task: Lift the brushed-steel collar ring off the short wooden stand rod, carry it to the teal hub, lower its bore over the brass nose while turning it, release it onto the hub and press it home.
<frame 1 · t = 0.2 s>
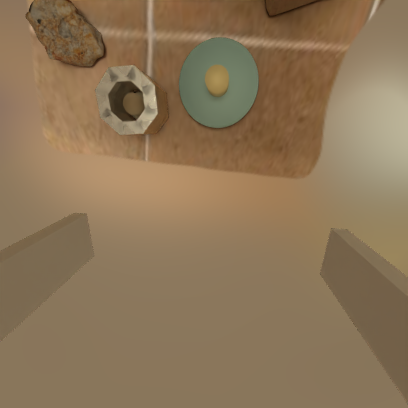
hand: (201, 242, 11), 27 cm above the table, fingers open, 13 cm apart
hub: (218, 88, 33), on the table
collar ring: (142, 107, 35), on the table
rock: (75, 37, 33), on the table
stand: (142, 107, 35), on the table
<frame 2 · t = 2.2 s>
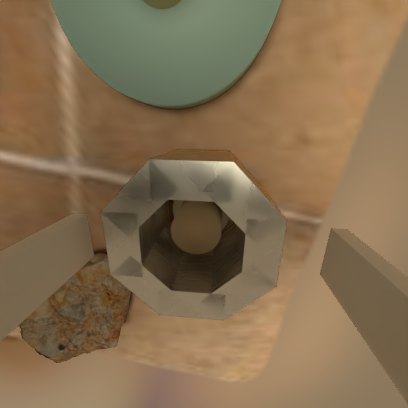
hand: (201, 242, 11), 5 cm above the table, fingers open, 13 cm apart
collar ring: (202, 208, 16), on the table
rock: (92, 290, 20), on the table
stand: (202, 208, 16), on the table
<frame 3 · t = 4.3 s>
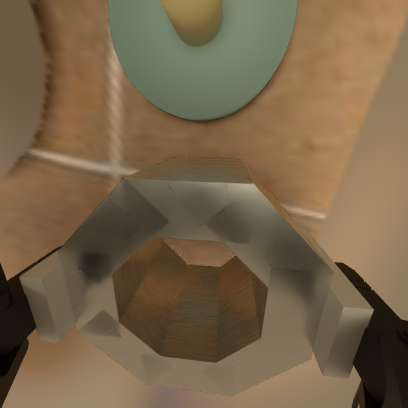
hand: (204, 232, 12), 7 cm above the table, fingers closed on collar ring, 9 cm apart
hub: (202, 31, 15), on the table
collar ring: (204, 230, 13), point 6 cm above the table, touching gripper
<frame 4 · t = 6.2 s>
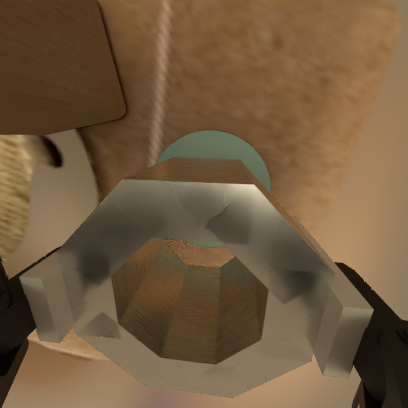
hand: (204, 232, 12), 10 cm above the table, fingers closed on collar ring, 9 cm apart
wooden block: (72, 74, 20), on the table
hub: (210, 189, 22), on the table
collar ring: (204, 230, 13), point 10 cm above the table, touching gripper
when the fingers open (3 cm above the table, at t = 8.1 s): collar ring stays where it is, resting on hub.
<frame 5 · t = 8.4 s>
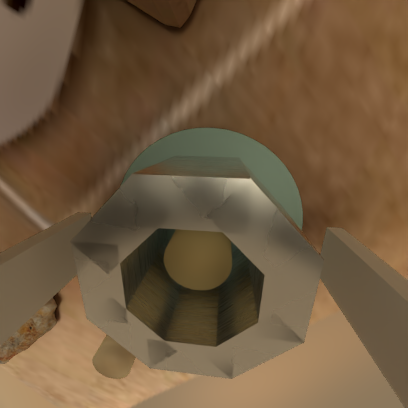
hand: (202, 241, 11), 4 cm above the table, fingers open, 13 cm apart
hub: (208, 214, 15), on the table
collar ring: (205, 225, 13), point 2 cm above the table, touching hub
rock: (16, 299, 21), on the table
stand: (133, 320, 19), on the table
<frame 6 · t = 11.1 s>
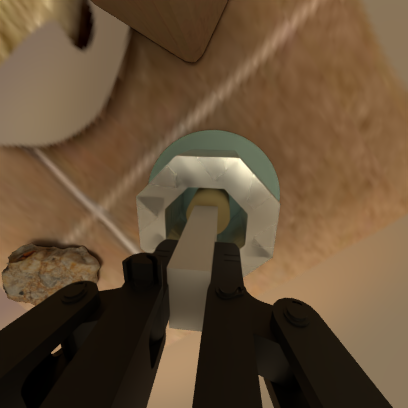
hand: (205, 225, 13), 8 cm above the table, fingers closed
hub: (213, 193, 21), on the table
collar ring: (211, 199, 19), point 2 cm above the table, touching hub
rock: (64, 263, 26), on the table
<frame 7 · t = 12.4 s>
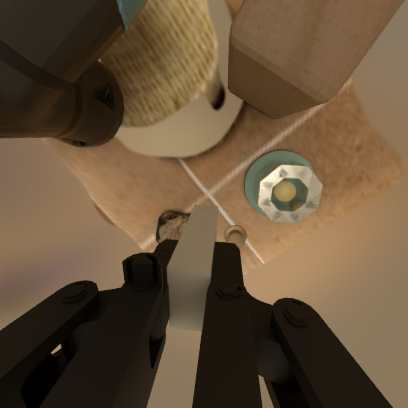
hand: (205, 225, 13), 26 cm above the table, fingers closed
wooden block: (268, 76, 33), on the table
hub: (276, 183, 38), on the table
collar ring: (279, 185, 36), point 2 cm above the table, touching hub
rock: (181, 225, 43), on the table
stand: (235, 235, 42), on the table
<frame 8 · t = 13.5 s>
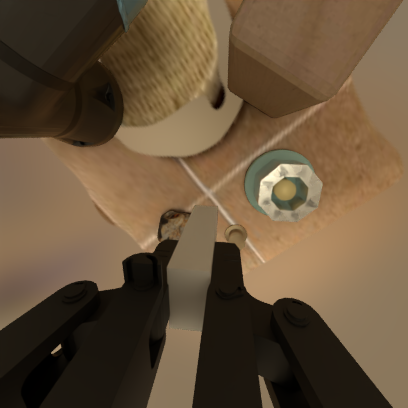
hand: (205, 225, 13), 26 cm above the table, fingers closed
wooden block: (267, 75, 33), on the table
hub: (276, 182, 38), on the table
collar ring: (279, 184, 36), point 2 cm above the table, touching hub
rock: (183, 224, 43), on the table
stand: (235, 234, 42), on the table
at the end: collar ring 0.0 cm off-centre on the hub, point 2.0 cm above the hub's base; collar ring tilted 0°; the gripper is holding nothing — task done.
